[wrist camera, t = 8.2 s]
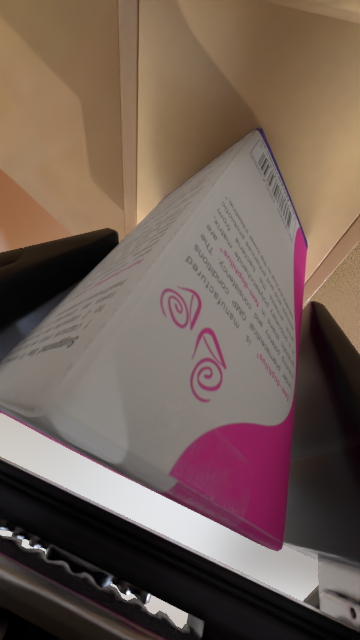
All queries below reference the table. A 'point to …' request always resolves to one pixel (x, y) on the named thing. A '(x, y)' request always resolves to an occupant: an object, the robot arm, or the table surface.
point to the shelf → (246, 105)
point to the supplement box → (183, 348)
